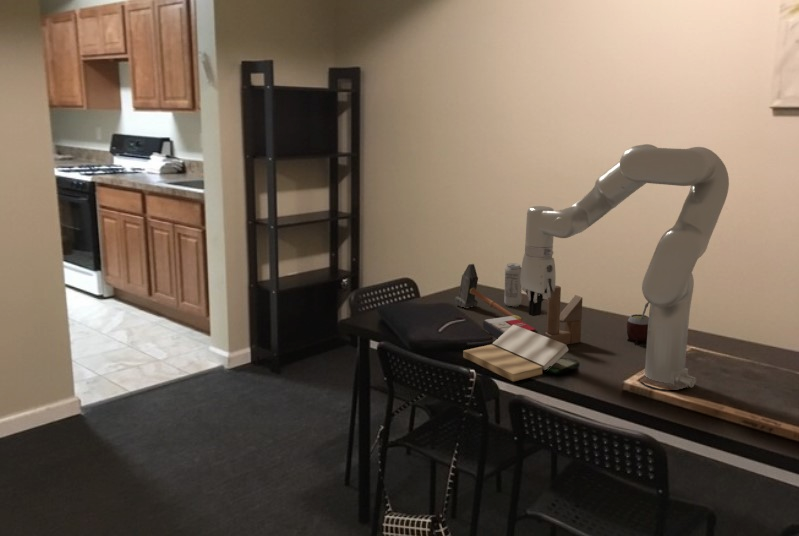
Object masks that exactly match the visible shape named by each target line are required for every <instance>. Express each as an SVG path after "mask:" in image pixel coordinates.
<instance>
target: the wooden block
mask: <svg viewBox="0 0 799 536" xmlns="http://www.w3.org/2000/svg"><path fill="white" fill-rule="evenodd" d="M561 291H562V287H561V286H560V285H555V291H554V292H550V294H551V298H549V299H547V317H546V319H547V320H546V321H547V322H546V332H544V333H543V334H544V335H543V336H545V337H548V338H550V339H553V340H556V341H558V342H561V343H563V344H566V345H573V344H578V343H581V336H582V334H581V332H582V318H583V317H582V315H583V296H579V295H576V294H575V295H574V296H573V297H572V298H571V300H569V302H568V303H567V304H566V306H565V307H564V308H563V309H562V311H561V295H562V292H561ZM560 323H564V330H560Z"/></svg>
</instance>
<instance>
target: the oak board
mask: <svg viewBox="0 0 799 536" xmlns="http://www.w3.org/2000/svg"><path fill="white" fill-rule="evenodd" d="M462 352H463V353H462V357H463V358H464V359H465V360H468V361H470V362H472V363H475V364H476V365H478V366H481V367H483V368H484V369H487V370H488V371H491V372H492V373H494V374H497V375H499V376H501V377H503V378H505V379H507V380H510V381H511V382H517V381H520V380H525V379H529V378H532V377H536V376H540V375H543V369H542V367H541V366H539V365H537V364H535V363H532V362H530V361H528V360H525V359H523V358H521V357H519V356H516V355H514V354H512V353H509V352H507V351H505V350H503V349H500V348H498V347H496V346H493V344H487V345H484V346H483V345H482V346H478V347H474V348H470V349H469V348H468V349H465V350H463V351H462Z"/></svg>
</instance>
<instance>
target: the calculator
mask: <svg viewBox="0 0 799 536" xmlns="http://www.w3.org/2000/svg"><path fill="white" fill-rule="evenodd" d="M513 324H514V325H516V326H519V327H522V328H524V329H527V330H529V331H532V332H535V333H537V334H538V330H536V328H534V327H532V326H531V325H529V324H527V323H525V322H524V321H520V320H518V319H516V318H514V317H512V316H508V317H507V316H503V317H496V318H495V317H494V318H488V319H485V320H484V319H483V322H482V329H483V328H484V329H485V330H487V331H488V332H489V333H491V334H492V335H491V334H490V335H491V336H493V338H496V339H497V338H499V337H500V336H501V335H502V334H503V333H504V332H505V331H507V330H508V329H509V328H510V327H511V326H512V325H513Z"/></svg>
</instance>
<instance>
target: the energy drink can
mask: <svg viewBox="0 0 799 536" xmlns="http://www.w3.org/2000/svg"><path fill="white" fill-rule="evenodd" d="M521 267H522V264H520V263H512V262H511V263H507V264H506V268H505V269H504V296H503V297H504V301H503V302H504V304H505V306H506V305H509V306H518V307H520V306H519V305H521V304H522V291H523V290H522V286H521V284H520V276H521Z"/></svg>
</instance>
